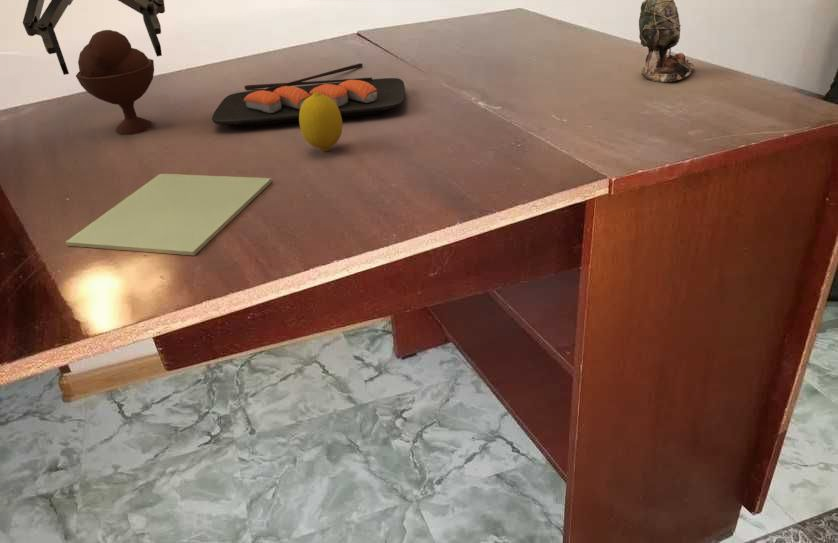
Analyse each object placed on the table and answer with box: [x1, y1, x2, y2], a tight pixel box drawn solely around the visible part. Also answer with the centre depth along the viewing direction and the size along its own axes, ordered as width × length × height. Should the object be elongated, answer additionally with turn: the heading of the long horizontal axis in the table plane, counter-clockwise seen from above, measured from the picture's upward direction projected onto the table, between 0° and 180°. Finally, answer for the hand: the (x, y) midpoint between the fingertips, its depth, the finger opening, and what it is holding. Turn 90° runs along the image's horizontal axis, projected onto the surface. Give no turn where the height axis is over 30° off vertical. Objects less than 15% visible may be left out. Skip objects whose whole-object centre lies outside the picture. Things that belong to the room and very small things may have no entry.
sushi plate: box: [211, 62, 406, 127], centre depth 114 cm, size 29×30×4 cm
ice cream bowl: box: [75, 29, 155, 136], centre depth 104 cm, size 11×11×15 cm
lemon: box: [298, 92, 343, 152], centre depth 91 cm, size 6×6×8 cm
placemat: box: [65, 173, 273, 257], centre depth 81 cm, size 16×18×1 cm
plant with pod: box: [638, 0, 695, 83], centre depth 103 cm, size 8×11×20 cm
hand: (112, 60), depth 105 cm, fingers open, 13 cm apart
